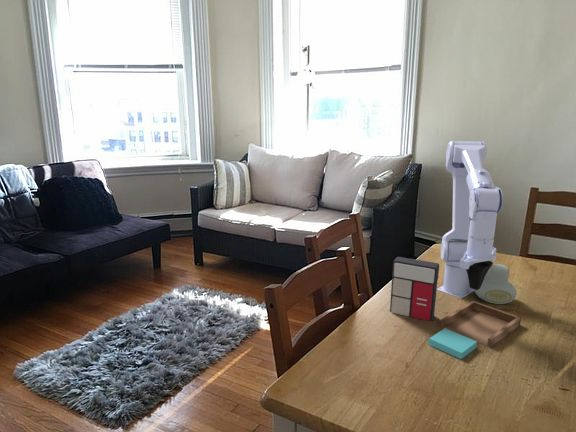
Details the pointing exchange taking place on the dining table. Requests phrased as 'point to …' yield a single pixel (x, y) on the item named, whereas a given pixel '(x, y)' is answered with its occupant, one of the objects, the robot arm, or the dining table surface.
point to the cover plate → (452, 343)
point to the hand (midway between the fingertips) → (474, 288)
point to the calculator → (414, 288)
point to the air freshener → (497, 286)
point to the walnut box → (481, 323)
